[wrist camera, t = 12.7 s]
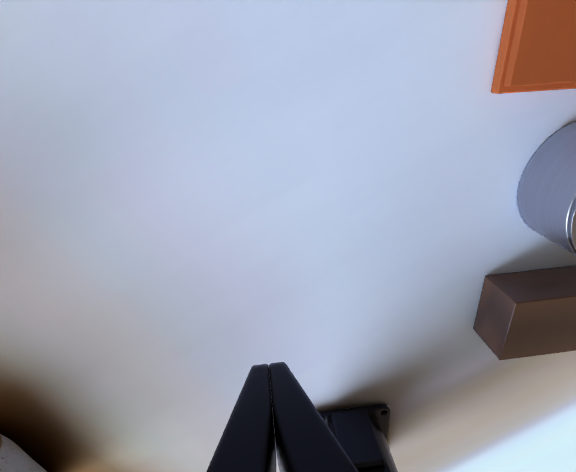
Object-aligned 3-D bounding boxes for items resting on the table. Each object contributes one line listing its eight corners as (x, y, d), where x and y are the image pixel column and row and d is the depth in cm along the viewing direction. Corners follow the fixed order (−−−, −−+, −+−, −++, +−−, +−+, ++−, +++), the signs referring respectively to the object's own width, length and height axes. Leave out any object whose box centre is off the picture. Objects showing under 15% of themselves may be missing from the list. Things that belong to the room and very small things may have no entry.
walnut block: (577, 316, 26) (615, 345, 23) (472, 328, 26) (499, 360, 23) (598, 262, 24) (642, 288, 21) (484, 275, 23) (516, 303, 21)
